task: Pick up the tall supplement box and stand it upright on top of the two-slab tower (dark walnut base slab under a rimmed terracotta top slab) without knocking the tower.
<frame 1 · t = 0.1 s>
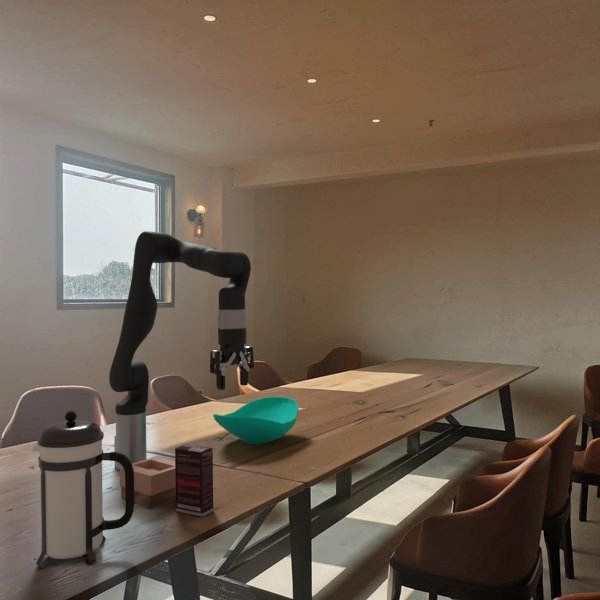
hand: (232, 387, 150), 29 cm above the table, fingers open, 8 cm apart
tower bottom: (154, 499, 150), on the table
table top decor: (257, 442, 206), on the table
coffee press: (79, 554, 118), on the table
tower top: (154, 484, 150), point 4 cm above the table
supplement box: (194, 512, 140), on the table
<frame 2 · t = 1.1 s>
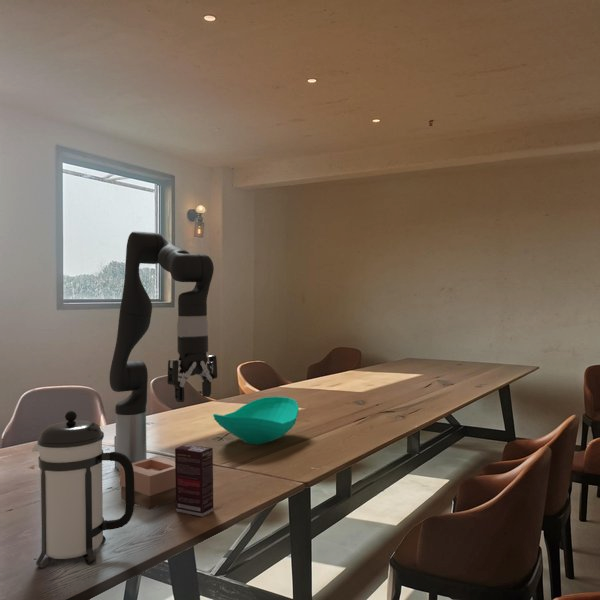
hand: (193, 399, 140), 28 cm above the table, fingers open, 8 cm apart
tower bottom: (154, 499, 150), on the table, touching tower top
tower top: (153, 484, 150), point 4 cm above the table, touching tower bottom
everything else where it was.
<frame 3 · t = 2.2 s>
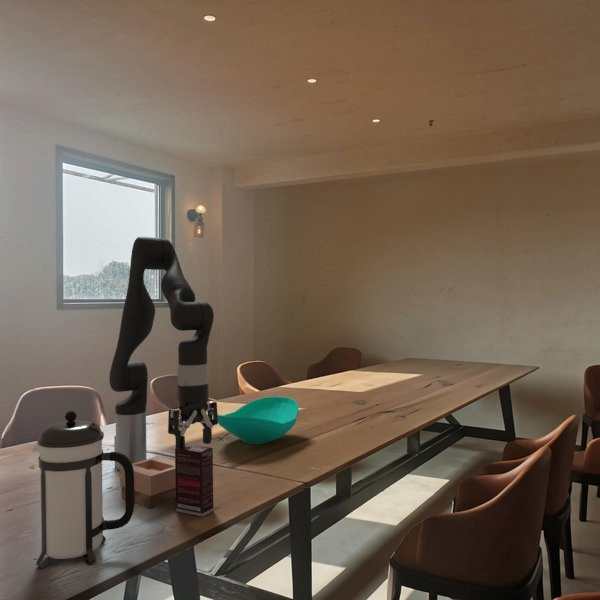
hand: (194, 447, 140), 16 cm above the table, fingers open, 8 cm apart
nothing on the table moved.
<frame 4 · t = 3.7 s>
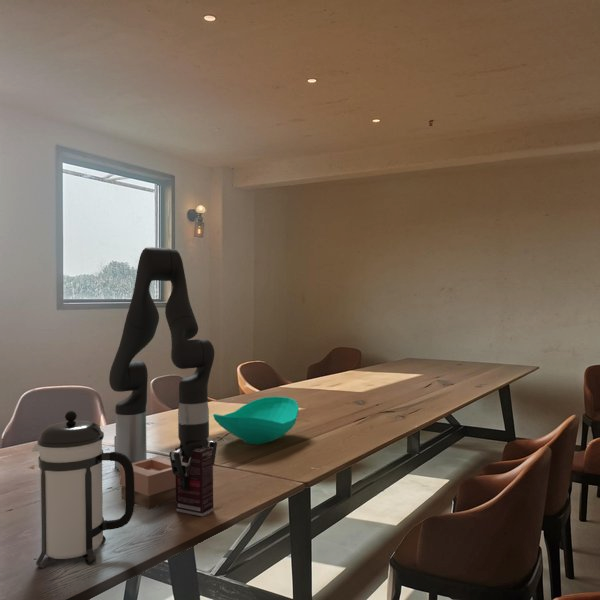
hand: (194, 487, 140), 6 cm above the table, fingers closed on supplement box, 5 cm apart
supplement box: (194, 511, 140), on the table, touching gripper
everything else where it was.
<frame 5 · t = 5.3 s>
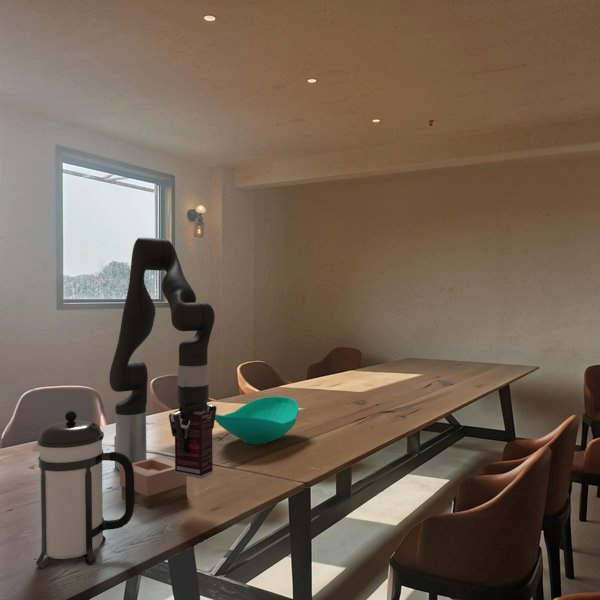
hand: (193, 450, 140), 15 cm above the table, fingers closed on supplement box, 5 cm apart
supplement box: (193, 474, 140), point 9 cm above the table, touching gripper
everything else where it was.
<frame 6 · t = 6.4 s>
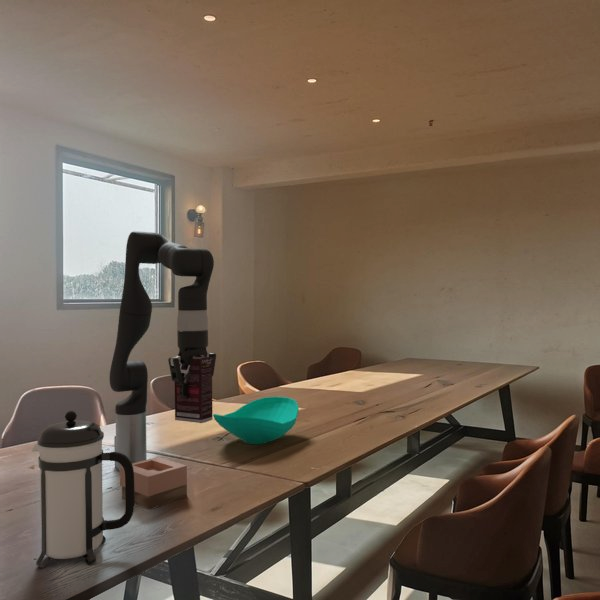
hand: (193, 396, 140), 29 cm above the table, fingers closed on supplement box, 5 cm apart
tower bottom: (154, 499, 150), on the table
tower top: (153, 484, 150), point 3 cm above the table
supplement box: (193, 421, 140), point 23 cm above the table, touching gripper
everything else where it was.
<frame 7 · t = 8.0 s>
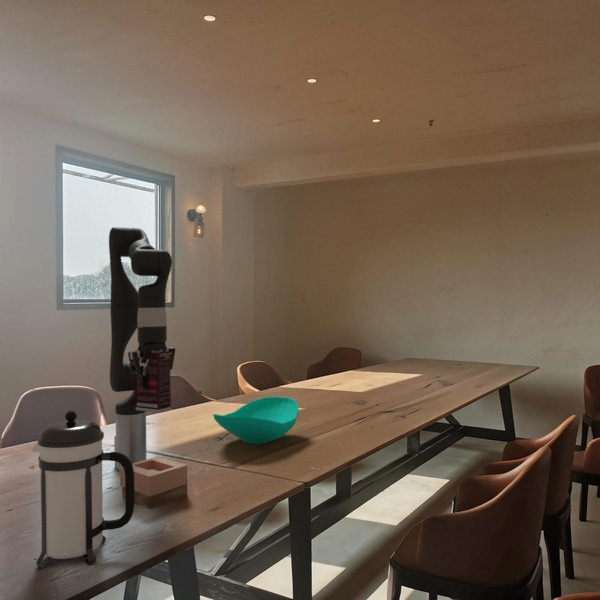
hand: (152, 387, 150), 29 cm above the table, fingers closed on supplement box, 5 cm apart
tower bottom: (155, 499, 150), on the table, touching tower top
tower top: (153, 484, 150), point 3 cm above the table, touching tower bottom
supplement box: (153, 410, 150), point 23 cm above the table, touching gripper
everything else where it was.
when the fingers open (14 cm above the table, at t = 12.3 s): supplement box drops 1 cm, point 6 cm above the table.
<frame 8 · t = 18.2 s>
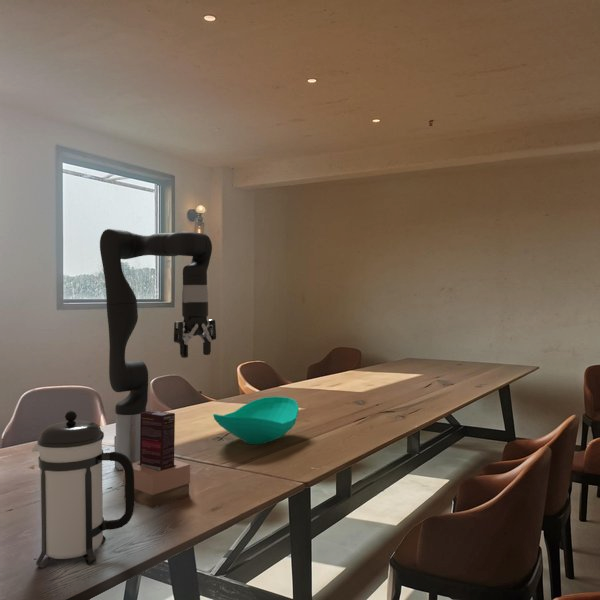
hand: (195, 356, 164), 36 cm above the table, fingers open, 8 cm apart
tower top: (156, 483, 151), point 3 cm above the table, touching tower bottom
supplement box: (156, 472, 151), point 6 cm above the table
everything else where it was.
at the end: supplement box 0.1 cm off-centre on the tower top, point 2.8 cm above the tower top's base; supplement box tilted 1°; tower top moved 1.1 cm from its start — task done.
